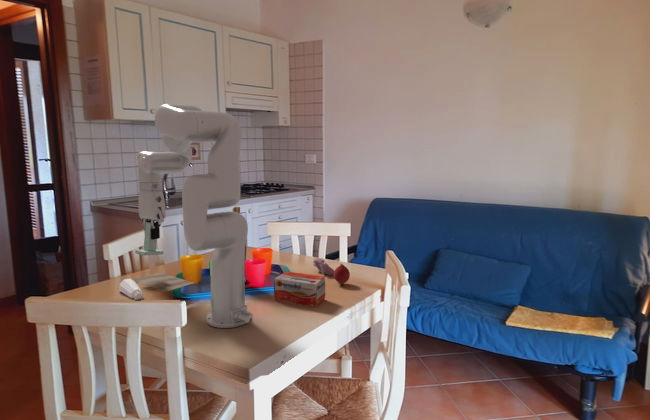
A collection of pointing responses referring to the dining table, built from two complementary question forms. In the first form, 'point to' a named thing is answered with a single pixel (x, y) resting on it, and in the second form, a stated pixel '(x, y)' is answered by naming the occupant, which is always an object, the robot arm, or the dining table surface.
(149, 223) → the mint t-shaped block
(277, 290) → the medicine box
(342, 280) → the onion
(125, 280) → the pepper shaker
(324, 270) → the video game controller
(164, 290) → the board
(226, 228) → the robot arm
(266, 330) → the dining table surface
